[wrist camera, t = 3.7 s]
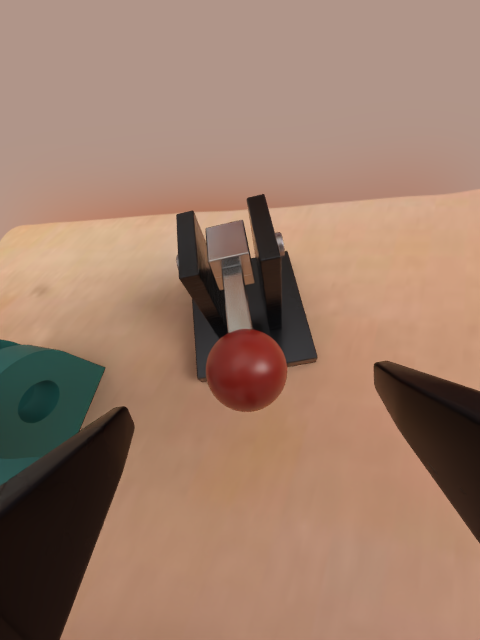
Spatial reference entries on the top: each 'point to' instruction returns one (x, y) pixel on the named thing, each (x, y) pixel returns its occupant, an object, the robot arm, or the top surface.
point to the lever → (240, 329)
